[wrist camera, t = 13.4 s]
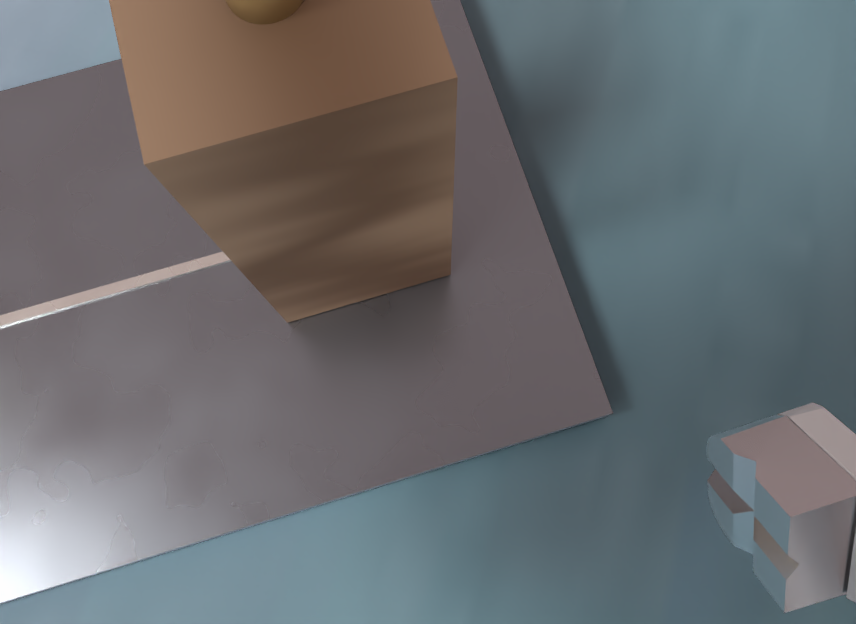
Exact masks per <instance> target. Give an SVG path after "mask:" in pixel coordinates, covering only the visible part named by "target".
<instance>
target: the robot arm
mask: <svg viewBox="0 0 856 624" xmlns="http://www.w3.org/2000/svg"><path fill="white" fill-rule="evenodd" d="M706 446H707V459H708V460H709V461H710V462H711V464H712V465H713V466H714V467H715V470H714V471H713V473H712V474H711V476H710V477H709V479H708V480H707V486H708V499H709V502H710V505H711V508H712V511H713V514H714V517H715V519H716V520H717V522H718V524H719V526H720V528H721V529H722V531H723V533H724V534H725V535H726V537H727V538H728V539H729V541H730V542H731V544H732V545H733V546H735V547H737V548H739V549H741V550H743V551H745V552H748V553H750V554H752V555H753V573H754V574H755V575H756V577H757V578H758V579H759V581H760V582H761V583H762V585H763V586H764V587H765V589H766V590H767V591H768V592H769V594H770V595H771V596H772V598H773V599H774V600H775V602H776V603H777V604H778V605H779V607H780V608H781V609H782V611H783V612H784V613H786V612H789V611H793V610H796V609H799V608H802V607H806V606H809V605H812V604H816V603H819V602H822V601H825V600H829V599H832V598H835V597H838V596H842V595H845V594H847V596H846V598H848V599H849V600H851V601H853V602H855V603H856V434H855V433H854V432H852V431H851V430H850V429H849V428H848V427H846V426H845V425H844V424H843V423H842V422H841V421H839V420H838V419H837V418H836V417H835V416H833V415H832V414H831V413H830V412H829V411H828V410H826V409H825V408H824V407H823V406H821V405H818V404H815V403H810V404H807V405H804V406H801V407H798V408H795V409H792V410H788V411H785V412H782V413H779V414H778V415H772V416H769V417H766V418H763V419H760V420H757V421H754V422H751V423H748V424H745V425H742V426H739V427H736V428H733V429H730V430H727V431H724V432H721V433H718V434H715V435H712V436H710V437H709V440H708V442H707V444H706Z"/></svg>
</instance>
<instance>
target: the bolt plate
mask: <svg viewBox="0 0 856 624" xmlns="http://www.w3.org/2000/svg"><path fill="white" fill-rule="evenodd" d="M430 1H431V4H432V7H433V10H434V12H435V15H436V18H437V21H438V24H439V26H440V29H441V32H442V35H443V38H444V40H445V43H446V46H447V49H448V52H449V54H450V57H451V60H452V63H453V66H454V68H455V71H456V74H457V77H458V80H457V109H456V137H455V166H454V194H453V223H452V251H451V275H448V276H444V277H441V278H437V279H434V280H431V281H427V282H424V283H420V284H417V285H414V286H410V287H407V288H403V289H400V290H397V291H393V292H390V293H386V294H383V295H380V296H376V297H373V298H369V299H366V300H363V301H359V302H356V303H352V304H349V305H346V306H342V307H339V308H336V309H332V310H329V311H325V312H322V313H319V314H315V315H312V316H308V317H305V318H302V319H298V320H295V321H291V322H288V323H287V322H286V321H285V320H284V319H283V317H282V316H281V315H280V314H279V313H278V312H277V311H276V310H275V309H274V307H273V306H272V305H271V304H270V303H269V302H268V301H267V300H266V299H265V298H264V296H263V295H262V294H261V293H260V292H259V291H258V290H257V289H256V288H255V286H254V285H253V284H252V283H251V282H250V281H249V280H248V279H247V278H246V277H245V275H244V274H243V273H242V272H241V271H240V270H239V269H238V268H237V267H236V265H235V264H234V263H233V262H232V261H231V260H230V259H229V258H228V257H227V256H226V254H225V253H224V252H223V251H222V250H221V249H220V248H219V247H218V246H217V244H216V243H215V242H214V241H213V240H212V239H211V238H210V237H209V236H208V235H207V233H206V232H205V231H204V230H203V229H202V228H201V227H200V226H199V225H198V223H197V222H196V221H195V220H194V219H193V218H192V217H191V216H190V215H189V214H188V212H187V211H186V210H185V209H184V208H183V207H182V206H181V205H180V204H179V202H178V201H177V200H176V199H175V198H174V197H173V196H172V195H171V194H170V193H169V191H168V190H167V189H166V188H165V187H164V186H163V185H162V184H161V183H160V182H159V180H158V179H157V178H156V177H155V176H154V175H153V174H152V173H151V172H150V170H149V169H148V168H147V167H146V166H145V165H144V162H143V157H142V153H141V148H140V143H139V139H138V134H137V129H136V124H135V120H134V115H133V110H132V106H131V101H130V96H129V92H128V87H127V82H126V78H125V73H124V68H123V63H122V59H119V60H115V61H112V62H108V63H104V64H100V65H97V66H93V67H89V68H86V69H82V70H78V71H74V72H71V73H67V74H63V75H60V76H56V77H52V78H48V79H45V80H41V81H37V82H34V83H30V84H26V85H22V86H19V87H15V88H11V89H8V90H4V91H0V605H1V604H4V603H7V602H10V601H14V600H17V599H20V598H23V597H27V596H30V595H33V594H36V593H39V592H43V591H46V590H49V589H52V588H56V587H59V586H62V585H65V584H68V583H72V582H75V581H78V580H81V579H85V578H88V577H91V576H94V575H97V574H101V573H104V572H107V571H110V570H114V569H117V568H120V567H123V566H127V565H130V564H133V563H136V562H139V561H143V560H146V559H149V558H152V557H156V556H159V555H162V554H165V553H168V552H172V551H175V550H178V549H181V548H185V547H188V546H191V545H194V544H197V543H201V542H204V541H207V540H210V539H214V538H217V537H220V536H223V535H227V534H230V533H233V532H236V531H239V530H243V529H246V528H249V527H252V526H256V525H259V524H262V523H265V522H268V521H272V520H275V519H278V518H281V517H285V516H288V515H291V514H294V513H297V512H301V511H304V510H307V509H310V508H314V507H317V506H320V505H323V504H326V503H330V502H333V501H336V500H339V499H343V498H346V497H349V496H352V495H356V494H359V493H362V492H365V491H368V490H372V489H375V488H378V487H381V486H385V485H388V484H391V483H394V482H397V481H401V480H404V479H407V478H410V477H414V476H417V475H420V474H423V473H426V472H430V471H433V470H436V469H439V468H443V467H446V466H449V465H452V464H456V463H459V462H462V461H465V460H468V459H472V458H475V457H478V456H481V455H485V454H488V453H491V452H494V451H497V450H501V449H504V448H507V447H510V446H514V445H517V444H520V443H523V442H526V441H530V440H533V439H536V438H539V437H543V436H546V435H549V434H552V433H556V432H559V431H562V430H565V429H568V428H572V427H575V426H578V425H581V424H585V423H588V422H591V421H594V420H597V419H601V418H604V417H606V416H608V415H610V414H612V413H613V411H612V409H611V406H610V403H609V401H608V398H607V395H606V393H605V390H604V387H603V384H602V382H601V379H600V376H599V374H598V371H597V368H596V366H595V363H594V360H593V357H592V355H591V352H590V349H589V347H588V344H587V341H586V339H585V336H584V333H583V330H582V328H581V325H580V322H579V320H578V317H577V314H576V312H575V309H574V306H573V303H572V301H571V298H570V295H569V293H568V290H567V287H566V285H565V282H564V279H563V277H562V274H561V271H560V268H559V266H558V263H557V260H556V258H555V255H554V252H553V250H552V247H551V244H550V241H549V239H548V236H547V233H546V231H545V228H544V225H543V223H542V220H541V217H540V214H539V212H538V209H537V206H536V204H535V201H534V198H533V196H532V193H531V190H530V188H529V185H528V182H527V179H526V177H525V174H524V171H523V169H522V166H521V163H520V161H519V158H518V155H517V152H516V150H515V147H514V144H513V142H512V139H511V136H510V134H509V131H508V128H507V125H506V123H505V120H504V117H503V115H502V112H501V109H500V107H499V104H498V101H497V98H496V96H495V93H494V90H493V88H492V85H491V82H490V80H489V77H488V74H487V72H486V69H485V66H484V63H483V61H482V58H481V55H480V53H479V50H478V47H477V45H476V42H475V39H474V36H473V34H472V31H471V28H470V26H469V23H468V20H467V18H466V15H465V12H464V9H463V7H462V4H461V1H460V0H430Z"/></svg>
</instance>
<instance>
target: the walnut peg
mask: <svg viewBox="0 0 856 624" xmlns="http://www.w3.org/2000/svg"><path fill="white" fill-rule="evenodd" d="M109 2H110V7H111V12H112V17H113V21H114V26H115V31H116V35H117V40H118V45H119V49H120V54H121V59H122V63H123V68H124V73H125V78H126V82H127V87H128V92H129V96H130V101H131V106H132V110H133V115H134V120H135V124H136V129H137V134H138V139H139V143H140V148H141V153H142V157H143V162H144V165H145V166H146V167H147V168H148V169H149V170H150V172H151V173H152V174H153V175H154V176H155V177H156V178H157V179H158V180H159V182H160V183H161V184H162V185H163V186H164V187H165V188H166V189H167V190H168V191H169V193H170V194H171V195H172V196H173V197H174V198H175V199H176V200H177V201H178V202H179V204H180V205H181V206H182V207H183V208H184V209H185V210H186V211H187V212H188V214H189V215H190V216H191V217H192V218H193V219H194V220H195V221H196V222H197V223H198V225H199V226H200V227H201V228H202V229H203V230H204V231H205V232H206V233H207V235H208V236H209V237H210V238H211V239H212V240H213V241H214V242H215V243H216V244H217V246H218V247H219V248H220V249H221V250H222V251H223V252H224V253H225V254H226V256H227V257H228V258H229V259H230V260H231V261H232V262H233V263H234V264H235V265H236V267H237V268H238V269H239V270H240V271H241V272H242V273H243V274H244V275H245V277H246V278H247V279H248V280H249V281H250V282H251V283H252V284H253V285H254V286H255V288H256V289H257V290H258V291H259V292H260V293H261V294H262V295H263V296H264V298H265V299H266V300H267V301H268V302H269V303H270V304H271V305H272V306H273V307H274V309H275V310H276V311H277V312H278V313H279V314H280V315H281V316H282V317H283V319H284V320H285V321H286V322H287V323H288V322H291V321H295V320H298V319H302V318H305V317H308V316H312V315H315V314H319V313H322V312H325V311H329V310H332V309H336V308H339V307H342V306H346V305H349V304H352V303H356V302H359V301H363V300H366V299H369V298H373V297H376V296H380V295H383V294H386V293H390V292H393V291H397V290H400V289H403V288H407V287H410V286H414V285H417V284H420V283H424V282H427V281H431V280H434V279H437V278H441V277H444V276H448V275H451V251H452V223H453V194H454V166H455V137H456V109H457V80H458V77H457V74H456V71H455V68H454V66H453V63H452V60H451V57H450V54H449V52H448V49H447V46H446V43H445V40H444V38H443V35H442V32H441V29H440V26H439V24H438V21H437V18H436V15H435V12H434V10H433V7H432V4H431V1H430V0H109Z"/></svg>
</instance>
